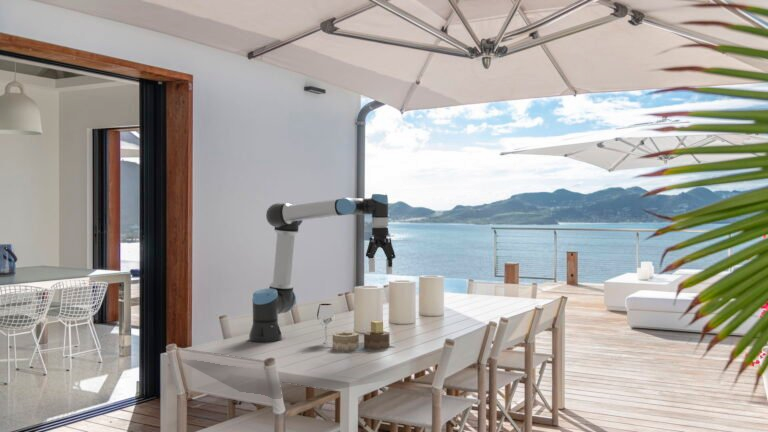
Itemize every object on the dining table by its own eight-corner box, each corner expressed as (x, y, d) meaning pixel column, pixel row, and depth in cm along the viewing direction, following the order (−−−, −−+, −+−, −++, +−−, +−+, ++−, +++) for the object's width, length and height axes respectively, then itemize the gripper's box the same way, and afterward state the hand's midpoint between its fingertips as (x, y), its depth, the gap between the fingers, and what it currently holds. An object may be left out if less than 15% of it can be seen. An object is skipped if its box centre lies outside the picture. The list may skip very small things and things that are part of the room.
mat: (350, 355, 278) (350, 354, 278) (327, 348, 293) (327, 347, 293) (396, 348, 292) (396, 347, 292) (372, 342, 307) (372, 340, 307)
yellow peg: (376, 347, 291) (375, 322, 291) (371, 346, 294) (370, 321, 294) (383, 346, 293) (382, 321, 293) (378, 345, 296) (377, 320, 296)
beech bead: (341, 351, 284) (341, 337, 283) (328, 347, 292) (328, 333, 292) (362, 348, 290) (362, 334, 290) (349, 344, 298) (349, 331, 298)
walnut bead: (374, 350, 286) (373, 336, 286) (360, 346, 295) (360, 332, 295) (393, 347, 292) (393, 333, 292) (379, 343, 301) (379, 330, 301)
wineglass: (320, 346, 298) (320, 306, 298) (314, 343, 305) (313, 304, 305) (337, 344, 302) (337, 304, 302) (330, 341, 309) (330, 302, 309)
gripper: (402, 227, 300) (403, 274, 300) (371, 226, 320) (371, 270, 320) (389, 227, 296) (389, 275, 296) (358, 226, 316) (358, 271, 316)
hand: (380, 273), depth 308 cm, fingers open, 13 cm apart
